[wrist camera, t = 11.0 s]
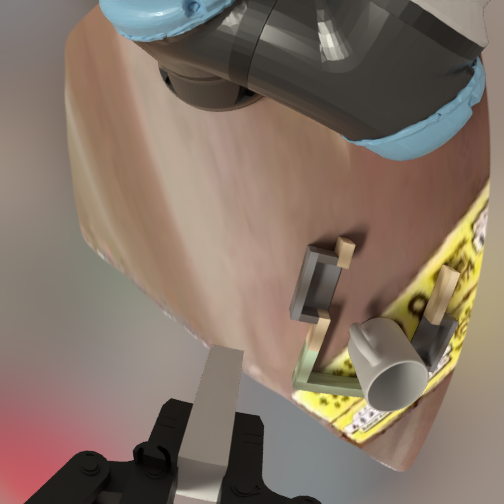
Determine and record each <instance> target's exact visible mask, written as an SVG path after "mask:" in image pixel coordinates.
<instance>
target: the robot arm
mask: <svg viewBox="0 0 504 504" xmlns="http://www.w3.org/2000/svg"><path fill="white" fill-rule="evenodd" d="M489 1H490V0H100V7H101V10H102V12H103V13H104V15H105V16H106V18H107V19H108V20H109V21H110V22H111V23H112V24H113V26H114V27H115V28H116V30H117V31H118V32H119V34H120V35H122V36H125V37H126V38H127V39H129V40H132V41H133V42H135V43H136V44H137V45H138V46H140V47H141V48H142V49H143V50H145V51H146V52H147V53H148V54H150V55H151V56H152V57H153V58H155V59H156V60H157V61H158V65H159V70H160V74H161V76H162V79H163V80H164V82H165V84H166V85H167V87H168V88H169V89H170V91H171V92H172V93H173V94H174V95H176V96H177V97H178V98H179V99H181V100H182V101H184V102H185V103H187V104H189V105H191V106H193V107H195V108H198V109H202V110H206V111H214V112H224V111H232V110H236V109H240V108H243V107H246V106H248V105H250V104H252V103H254V102H256V101H257V100H259V99H260V98H262V97H263V96H265V97H268V98H270V99H272V100H274V101H276V102H279V103H281V104H283V105H285V106H287V107H289V108H291V109H293V110H295V111H297V112H299V113H301V114H303V115H305V116H307V117H309V118H311V119H313V120H315V121H317V122H319V123H321V124H323V125H325V126H327V127H328V128H330V129H332V130H334V131H336V132H338V133H339V134H340V135H341V136H342V137H343V138H344V139H345V140H347V141H348V142H350V143H354V144H356V145H362V146H364V147H366V148H367V149H369V150H371V151H373V152H375V153H377V154H378V155H380V156H382V157H384V158H387V159H391V160H395V161H405V160H412V159H416V158H419V157H422V156H424V155H427V154H429V153H431V152H432V151H434V150H436V149H437V148H439V147H440V146H442V145H443V144H445V143H446V142H447V141H449V140H450V139H451V138H452V137H453V136H454V135H455V134H456V133H457V132H458V131H459V130H460V129H461V128H462V127H463V126H464V125H465V124H466V122H467V121H468V120H469V118H470V117H471V115H472V114H473V112H472V109H471V107H472V106H473V105H475V104H476V103H478V102H480V100H481V97H482V95H483V92H484V88H485V70H484V67H483V65H482V63H481V61H480V58H479V57H478V55H479V54H480V53H481V52H482V51H483V49H484V48H485V47H486V46H487V45H488V37H487V32H486V27H485V22H484V18H483V13H484V7H485V6H486V5H487V4H488V2H489ZM243 354H244V351H242V350H237V349H232V348H227V347H222V346H217V345H213V344H212V345H211V348H210V351H209V355H208V358H207V361H206V365H205V368H204V371H203V374H202V378H201V381H200V384H199V387H198V391H197V394H196V397H195V401H194V404H192V403H188V402H183V401H179V400H176V399H172V398H171V399H170V400H168V401H167V402H166V403H165V404H164V405H163V406H162V408H161V411H160V413H159V416H158V418H157V420H156V423H155V425H154V428H153V430H152V432H151V435H150V437H149V440H148V441H146V442H143V443H140V444H139V445H137V446H136V447H135V448H134V450H133V457H134V460H132V461H128V462H118V461H107V459H106V458H105V457H103V456H102V455H101V454H99V453H97V452H94V451H83V452H79V453H77V454H76V455H74V456H73V457H72V458H71V459H70V460H69V461H68V462H67V463H66V464H65V465H64V466H63V467H62V468H61V469H60V470H59V471H58V472H57V473H56V474H55V475H54V476H52V477H51V479H49V480H48V481H47V482H46V483H45V484H44V485H43V486H42V487H41V488H40V489H39V490H38V491H37V492H36V493H35V494H34V495H32V496H31V497H30V498H29V499H28V500H27V501H26V502H25V503H24V504H173V501H174V497H175V494H179V495H183V496H188V497H192V498H197V499H202V500H207V501H212V502H217V504H321V502H320V501H318V500H317V499H315V498H313V497H310V496H297V497H294V498H292V499H290V498H287V497H285V496H282V495H279V494H277V493H275V492H273V491H271V490H270V489H269V488H268V487H267V486H266V485H265V484H264V481H263V479H262V463H263V439H264V438H263V436H264V425H263V423H262V421H261V419H260V417H259V416H257V415H251V414H245V413H239V412H235V410H236V403H237V395H238V389H239V382H240V375H241V368H242V361H243Z"/></svg>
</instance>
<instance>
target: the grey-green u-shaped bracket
mask: <svg viewBox="0 0 504 504" xmlns="http://www.w3.org/2000/svg"><path fill="white" fill-rule="evenodd" d="M354 248H355V244H354V243H353V242H352V241H351V240H350V239H348V238H344V237H340V236H338V240H337V243H336V247H335V250H334V251H331V250H327V249H323V248H319V247H315V246H310V245H308V246H307V250H306V253H305V257H304V260H303V264H302V268H301V271H300V275H299V278H298V281H297V285H296V288H295V292H294V295H293V299H292V302H291V305H290V317H291V319H292V320H297V321H302V322H307V323H311V325H310V328H309V331H308V334H307V337H306V340H305V342H304V345H303V348H302V351H301V354H300V356H299V359H298V362H297V364H296V367H295V370H294V372H293V375H292V382H293V389H297V390H304V391H311V392H318V393H325V394H334V395H342V396H352V397H362V398H365V397H364V394H363V391H362V388H361V385H360V382H359V380H358V378H354V377H346V376H338V375H331V374H324V373H318V372H311V370H312V368H313V365H314V363H315V360H316V358H317V355H318V352H319V350H320V347H321V345H322V342H323V339H324V337H325V334H326V331H327V329H328V326H329V323H330V321H331V319H330V316H329V314H328V311H327V310H328V307H329V304H330V301H331V298H332V295H333V292H334V289H335V286H336V283H337V280H338V277H339V274H340V271H341V268H342V267H343V268H347V269H348V268H349V264H350V261H351V258H352V255H353V252H354ZM459 275H460V273H459V272H458V271H456V270H455V269H453V268H452V267H450V266H447V265H444V264H442V267H441V270H440V273H439V275H438V278H437V281H436V284H435V286H434V289H433V291H432V294H431V296H430V299H429V301H428V304H427V306H426V309H425V311H424V313H423V316H422V318H421V320H420V323H419V325H418V327H417V330H416V332H415V334H414V336H413V338H412V340H411V344H412V346H413V347H414V349H415V350H416V352H417V353H418V355H419V356H420V358H421V359H422V361H423V362H424V364H425V365H426V367H427V369H428V372H434V371H435V369H436V367H437V365H438V363H439V361H440V359H441V358H442V356H443V354H444V352H445V350H446V348H447V346H448V344H449V342H450V340H451V338H452V336H453V333H454V331H455V329H456V327H457V325H458V323H459V322H458V321H457V320H456V319H455V318H454V317H453V316H452V315H451V314H450V313H445V311H446V308H447V306H448V304H449V301H450V299H451V296H452V294H453V291H454V289H455V286H456V283H457V281H458V278H459Z"/></svg>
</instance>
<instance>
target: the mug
mask: <svg viewBox="0 0 504 504" xmlns="http://www.w3.org/2000/svg"><path fill="white" fill-rule="evenodd" d="M350 334H351V337H350V339H349V343H348V353H349V356H350V359H351V361H352V363H353V366H354V369H355V371H356V374H357V377H358V380H359V382H360V385H361V388H362V391H363V394H364V397H365V399H366V402H367V403H368V405H369V406H370V407H371V408H372V409H374V410H376V411H379V412H393V411H397V410H400V409H403V408H405V407H407V406H408V405H410V404H411V403H413V402H414V401H415V400H416V399H417V398H418V397H419V396H420V395H421V394H422V393H423V391H424V390H425V388H426V386H427V383H428V379H429V373H428V369H427V367H426V365H425V364H424V362H423V361H422V359H421V358H420V356H419V355H418V353H417V352H416V350H415V349H414V347H413V346H412V344H411V343H410V342H409V340H408V339H407V337H406V336H405V334H404V333H403V331H402V329H401V328H400V327H399V325H398V324H397V323H396V322H394V321H393V320H391V319H388V318H384V317H379V318H373V319H370V320H368V321H366V322H364V323H362V324H361V325H360V324H359V323H353V324H352V325H351V326H350Z"/></svg>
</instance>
